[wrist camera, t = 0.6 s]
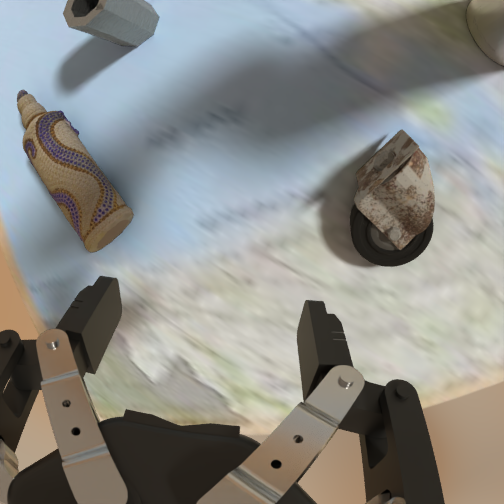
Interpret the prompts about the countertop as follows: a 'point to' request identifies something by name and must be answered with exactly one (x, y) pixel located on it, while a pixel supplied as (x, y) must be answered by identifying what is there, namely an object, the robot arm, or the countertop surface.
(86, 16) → the hub
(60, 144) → the decorative bottle
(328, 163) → the countertop surface
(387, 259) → the caster wheel
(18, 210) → the countertop surface
